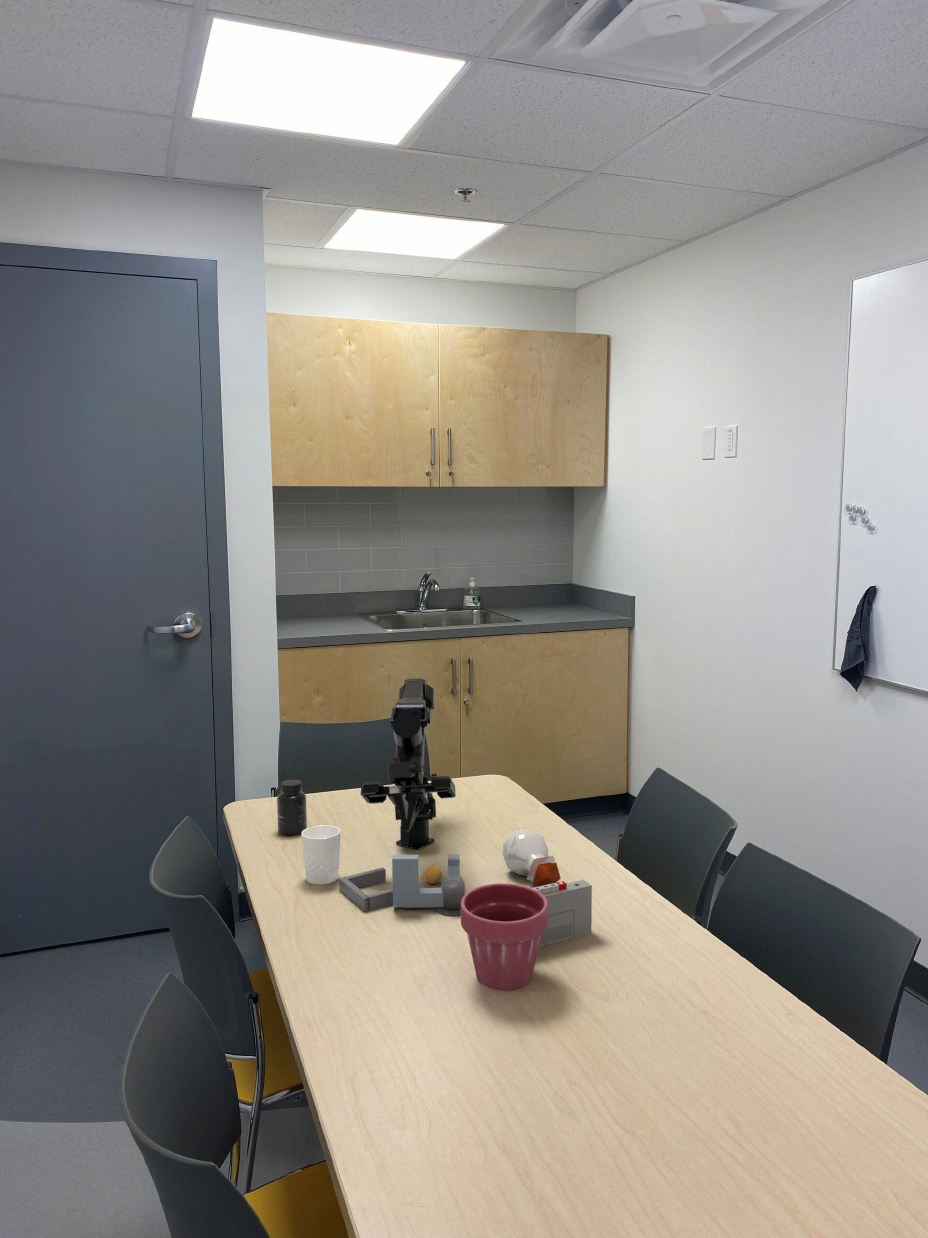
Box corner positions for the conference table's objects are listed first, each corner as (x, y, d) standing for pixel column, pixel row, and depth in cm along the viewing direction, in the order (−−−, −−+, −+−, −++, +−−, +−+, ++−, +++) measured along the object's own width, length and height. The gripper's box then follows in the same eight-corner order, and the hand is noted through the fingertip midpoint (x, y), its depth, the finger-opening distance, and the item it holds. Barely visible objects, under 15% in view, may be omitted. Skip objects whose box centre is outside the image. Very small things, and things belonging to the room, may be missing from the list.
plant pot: (542, 1004, 136) (542, 924, 134) (452, 995, 139) (452, 917, 137) (552, 958, 150) (552, 885, 148) (470, 951, 153) (469, 879, 151)
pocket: (383, 879, 183) (383, 867, 183) (409, 899, 173) (409, 887, 173) (339, 890, 178) (339, 878, 177) (364, 911, 168) (364, 899, 168)
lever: (398, 873, 184) (398, 829, 183) (464, 872, 184) (464, 828, 183) (392, 910, 167) (391, 861, 166) (464, 909, 167) (464, 860, 166)
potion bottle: (519, 869, 191) (550, 905, 177) (486, 850, 187) (516, 885, 173) (544, 833, 191) (577, 866, 178) (511, 813, 187) (543, 846, 173)
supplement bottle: (272, 835, 209) (270, 785, 207) (286, 825, 215) (284, 777, 214) (299, 838, 207) (297, 787, 205) (312, 828, 213) (310, 779, 212)
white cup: (345, 871, 187) (344, 825, 186) (336, 887, 179) (335, 839, 178) (308, 870, 188) (307, 824, 187) (298, 885, 180) (296, 838, 179)
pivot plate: (435, 900, 173) (435, 898, 173) (471, 899, 173) (471, 898, 173) (434, 916, 166) (434, 915, 166) (471, 916, 166) (471, 914, 166)
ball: (431, 878, 183) (431, 862, 183) (445, 882, 181) (445, 865, 181) (421, 884, 180) (420, 867, 180) (434, 888, 178) (434, 871, 178)
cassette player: (582, 927, 161) (583, 874, 160) (591, 933, 159) (591, 880, 158) (507, 946, 154) (507, 891, 153) (515, 953, 152) (514, 897, 151)
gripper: (354, 746, 180) (350, 821, 172) (444, 738, 177) (444, 814, 169) (370, 766, 190) (366, 838, 181) (456, 759, 187) (456, 832, 178)
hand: (407, 831), depth 177 cm, fingers closed
